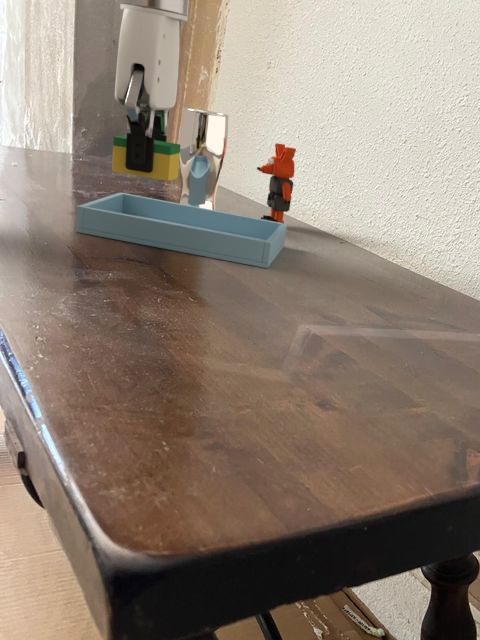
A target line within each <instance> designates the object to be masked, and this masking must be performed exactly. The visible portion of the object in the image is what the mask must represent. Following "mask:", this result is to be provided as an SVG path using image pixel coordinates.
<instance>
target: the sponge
mask: <svg viewBox="0 0 480 640" xmlns="http://www.w3.org/2000/svg"><path fill="white" fill-rule="evenodd" d="M112 138H113V139H112V140H113V141H112V142H113V143H112V164H111V165H112V169H111V171H112V172H113V173H120V174H126V175H131V176H135V177H141V178H148V179H153V180H159V181H165V182H169V181H173V180H175V179H179V172H180V165H179V157H180V144H179V143H174V142H169V141H167V142H163V141H157V140H154V157H153V171H152V172H150V173H146V172H141V171H135V170H129V169H127V168H126V166H125V163H126V141H127V134H123V135H116V136H113V137H112Z"/></svg>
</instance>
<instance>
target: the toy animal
mask: <svg viewBox="0 0 480 640" xmlns="http://www.w3.org/2000/svg"><path fill="white" fill-rule="evenodd" d="M274 149H275V151H274V154H275V156H273V155H272V156H271V157H268V159H267V162H266V163H265V165H264V164H263V165H261V167H260V166H257V167H256V170H257V171H259V172H261V173H262V174H265V175H270V177H269V185H268V191H269V192H268V194H267V199H266V205H267V207H268V208H269V209H270V215H265V214H263V216H260V219H263V220H268V221H274V222H279V223H284V224H285V221H284V214H285V213H288V212H289V211H290V208H291V203H292V201H291V200H292V194H293V188H294V181H293V180H292V179H293V178H294V177H295V172H296V171H295V160H294V157H295V154H296V152H297V148H295V147H288V146H286V144H284V143H278V142H275V144H274Z"/></svg>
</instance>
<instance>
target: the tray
mask: <svg viewBox="0 0 480 640" xmlns="http://www.w3.org/2000/svg"><path fill="white" fill-rule="evenodd" d="M75 221H76V223H75V225H76V227H75V232H76V233H79V234H83V235H84V234H85V235H89V236H94V237H100V238H106V239H112V240H116V241H121V242H127V243H133V244H137V245H143V246H147V247H152V248H158V249H163V250H169V251H174V252H179V253H183V254H189V255H194V256H199V257H206V258H211V259H214V260H215V259H216V260H222V261H226V262H231V263H237V264H243V265H247V266H252V267H257V268H258V267H259V268H263V269H269V267H270V266H271V264H272V263H273V261H275V259H276V258H277V257H278V255H279V254H280V252H281V251H282V250H283V248H284V247H285V243H286V242H285V241H286V237H287V230H288V224H287V223H285V222H284V223H279V222H274V221H268V220H263V219H261V218H257V217H252V216H246V215H241V214H236V213H231V212H226V211H220V210H217V209H216V210H210V209H205V208H200V207H195V206H189V205H184V204H179V202H173V201H168V200H163V199H158V198H153V197H152V198H151V197H147V196H141V195H135V194H131V193H125V192H121V191H120V192H117V193H114V194H111V195H108V196H105V197H101V198H98V199H95V200H93V201H89V202H86V203H83V204H79V205H77V206H76V220H75Z"/></svg>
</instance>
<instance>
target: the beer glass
mask: <svg viewBox="0 0 480 640" xmlns="http://www.w3.org/2000/svg"><path fill="white" fill-rule="evenodd" d="M229 128H230V115H228V114H226V113H221V112H216V111H211V110H205V109H201V108H193V107H183V110H182V116H181V122H180V127H179V136H178V144H180V157H179V177H180V192H179V199H178V203H179V204H184V205H189V206H195V207H200V208H205V209H210V210H216V211H217V207H216V205H217V204H216V200H217V192H218V188H219V184H220V181H221V177H222V174H223V170H224V166H225V162H226V157H227V153H228V147H229V146H228V145H229V132H230V131H229V130H230V129H229Z"/></svg>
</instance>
